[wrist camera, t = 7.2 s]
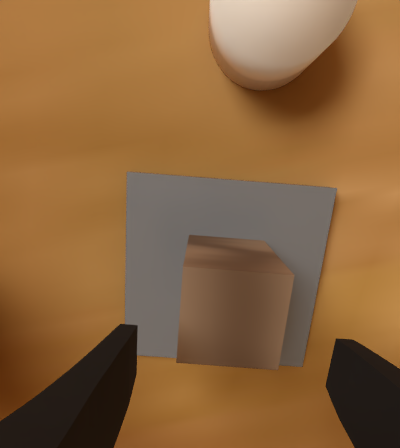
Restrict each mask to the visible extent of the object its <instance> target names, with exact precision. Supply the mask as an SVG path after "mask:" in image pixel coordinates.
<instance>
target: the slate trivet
mask: <svg viewBox="0 0 400 448" xmlns="http://www.w3.org/2000/svg"><path fill="white" fill-rule="evenodd" d="M336 191H337V188H332V187H320V186H308V185H295V184H282V183H269V182H256V181H244V180H231V179H218V178H205V177H192V176H180V175H167V174H154V173H141V172H127V207H126V283H125V324H128V325H138V332H137V355H142V356H156V357H170V358H177V346H178V331H179V317H180V302H181V288H182V273H183V264H184V259H185V254H186V248H187V243H188V238H189V235H199V236H212V237H225V238H237V239H250V240H263V241H265V242H266V243H267V245H268V246H269V247H270V248H271V249H272V250H273V251H274V253H275V254H276V255H277V256H278V257H279V258H280V259H281V260H282V262H283V263H284V264H285V265H286V266H287V267H288V268H289V270H290V271H291V272H292V273H293V274H294V281H293V287H292V293H291V298H290V304H289V310H288V316H287V321H286V327H285V333H284V339H283V345H282V350H281V356H280V362H279V365H282V366H296V367H303V361H304V356H305V351H306V346H307V341H308V336H309V330H310V325H311V320H312V315H313V310H314V305H315V299H316V294H317V289H318V284H319V279H320V274H321V268H322V263H323V258H324V253H325V248H326V243H327V237H328V232H329V227H330V222H331V217H332V212H333V206H334V201H335V196H336Z"/></svg>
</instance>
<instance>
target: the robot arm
mask: <svg viewBox="0 0 400 448" xmlns="http://www.w3.org/2000/svg"><path fill="white" fill-rule="evenodd" d="M137 332H138V325H128V324H120V325H119V326H118V327H117V328H115V329H114V330H113V331H112V332H111V333H110V334H109V335H108V336H107V337H106V338H105V339H104V340H103V341H101V342H100V343H99V344H98V345H97V346H96V347H95V348H94V349H93V350H92V351H90V352H89V353H88V354H87V355H86V356H85V357H84V358H83V359H81V360H80V361H79V362H78V363H77V364H76V365H75V366H73V367H72V368H71V369H70V370H69V371H67V372H66V373H65V374H64V375H62V376H61V377H60V378H59V379H57V380H56V381H55V382H54V383H52V384H51V385H50V386H49V387H47V388H46V389H45V390H44V391H42V392H41V393H40V394H38V395H37V396H36V397H34V398H33V399H32V400H30V401H29V402H27V403H26V404H25V405H23V406H22V407H20V408H19V409H17V410H16V411H15V412H13V413H12V414H10V415H9V416H7V417H6V418H4V419H3V420H1V421H0V448H114V445H115V442H116V440H117V437H118V434H119V431H120V428H121V426H122V423H123V420H124V417H125V414H126V411H127V408H128V406H129V402H130V398H131V394H132V390H133V386H134V382H135V378H136V371H137ZM326 388H327V391H328V393H329V396H330V398H331V401H332V403H333V406H334V408H335V410H336V412H337V415H338V417H339V419H340V421H341V423H342V425H343V427H344V429H345V430H346V432H347V434H348V436H349V438H350V440H351V442H352V443H353V445H354V447H355V448H400V369H399V368H397V367H396V366H394V365H393V364H391V363H390V362H388V361H387V360H385V359H383V358H382V357H380V356H379V355H377V354H376V353H374V352H373V351H371V350H369V349H368V348H366V347H365V346H363V345H361V344H360V343H358V342H356V341H354V340H350V339H336V341H335V346H334V350H333V355H332V359H331V364H330V368H329V373H328V377H327V382H326Z"/></svg>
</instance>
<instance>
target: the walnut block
mask: <svg viewBox="0 0 400 448" xmlns="http://www.w3.org/2000/svg"><path fill="white" fill-rule="evenodd" d="M293 281H294V274H293V273H292V272H291V271H290V270H289V268H288V267H287V266H286V265H285V264H284V263H283V262H282V260H281V259H280V258H279V257H278V256H277V255H276V254H275V253H274V251H273V250H272V249H271V248H270V247H269V246H268V245H267V243H266V242H265V241H263V240H250V239H237V238H225V237H212V236H199V235H189V238H188V243H187V248H186V254H185V259H184V264H183V273H182V288H181V302H180V317H179V331H178V346H177V360H176V363H188V364H202V365H216V366H229V367H243V368H256V369H270V370H278V368H279V362H280V356H281V350H282V345H283V339H284V333H285V327H286V321H287V316H288V310H289V304H290V298H291V293H292V287H293Z"/></svg>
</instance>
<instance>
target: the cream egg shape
mask: <svg viewBox="0 0 400 448" xmlns="http://www.w3.org/2000/svg"><path fill="white" fill-rule="evenodd" d="M356 3H357V0H210V9H209V41H210V46H211V50H212V53H213V56H214V58H215V60H216V62H217V64H218V66H219V67H220V69H221V70H222V71H223V72H224V73H225V75H226V76H227V77H229V78H230V79H231V80H232V81H233V82H235V83H237V84H238V85H240V86H242V87H245V88H248V89H252V90H272V89H276V88H279V87H281V86H284V85H286V84H287V83H289V82H291V81H292V80H294V79H295V78H296V77H298V76H299V75H300V74H301V73H302V72H303V71H304V70H305V69H306V68H307V67H308V66H309V65H310V64H311V63H312V62H313V61H314V60H315V59H316V58H317V57H318V56H319V55H320V54H321V53H322V52H323V51H324V50H325V49H326V48H327V47H328V46H329V45H330V44H331V43H332V42H333V41H334V40H335V39H336V38H337V37H338V36H339V35H340V33H341V32H342V31H343V29H344V28H345V26H346V24H347V23H348V21H349V19H350V17H351V15H352V13H353V11H354V8H355V5H356Z"/></svg>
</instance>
